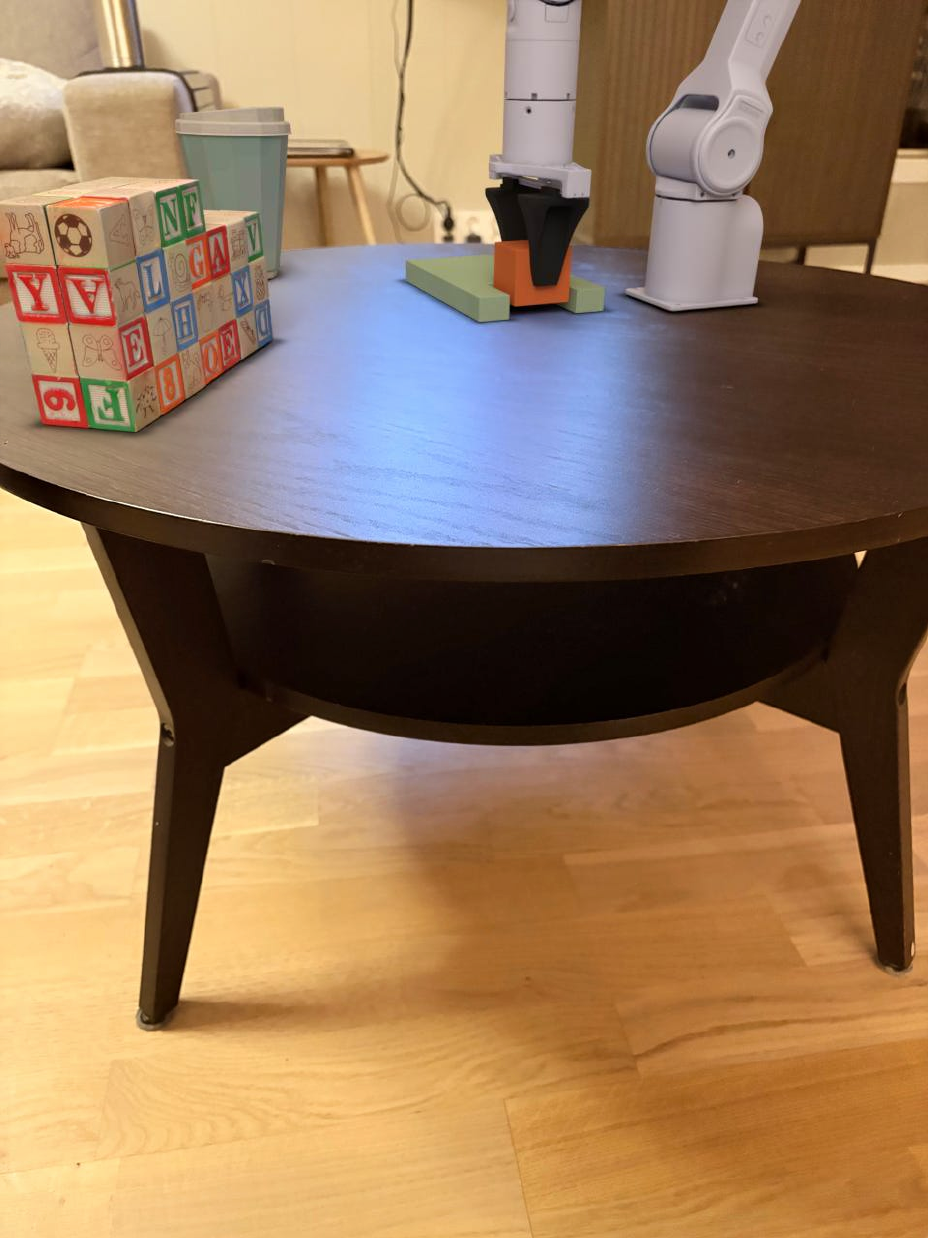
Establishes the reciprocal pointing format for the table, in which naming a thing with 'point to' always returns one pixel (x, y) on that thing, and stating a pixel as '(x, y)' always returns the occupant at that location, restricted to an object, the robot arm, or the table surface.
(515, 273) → the orange cube
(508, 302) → the base pad
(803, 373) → the table surface
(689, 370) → the table surface
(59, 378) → the stack of blocks
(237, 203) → the disposable coffee cup
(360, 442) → the table surface
